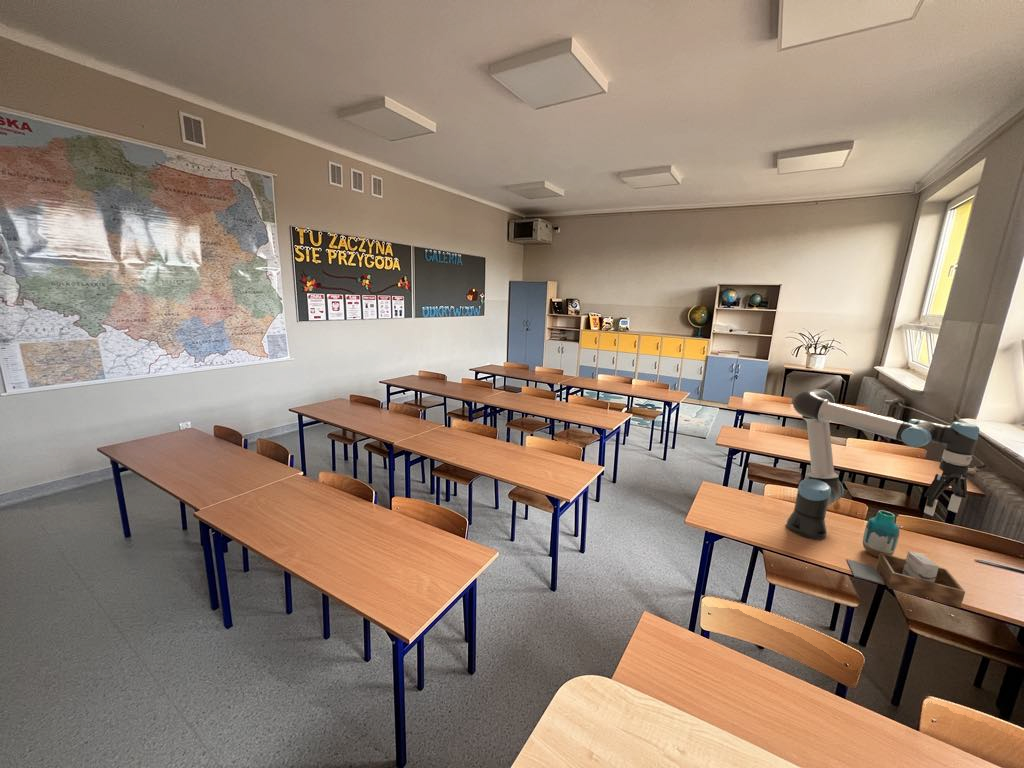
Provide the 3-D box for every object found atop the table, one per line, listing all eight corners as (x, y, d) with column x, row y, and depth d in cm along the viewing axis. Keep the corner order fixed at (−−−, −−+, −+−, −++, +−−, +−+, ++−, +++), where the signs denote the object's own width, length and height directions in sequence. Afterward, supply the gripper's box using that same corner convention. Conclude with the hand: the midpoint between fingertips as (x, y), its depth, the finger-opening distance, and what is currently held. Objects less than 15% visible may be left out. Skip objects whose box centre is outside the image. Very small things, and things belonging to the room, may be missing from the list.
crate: (888, 588, 155) (892, 572, 154) (876, 567, 168) (880, 552, 166) (960, 608, 146) (965, 591, 145) (941, 583, 159) (946, 568, 158)
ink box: (931, 595, 153) (940, 566, 150) (916, 592, 153) (924, 564, 151) (914, 580, 161) (922, 552, 158) (900, 577, 162) (907, 550, 159)
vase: (898, 565, 170) (909, 522, 166) (866, 558, 173) (876, 516, 169) (885, 550, 180) (896, 510, 176) (855, 545, 183) (865, 504, 179)
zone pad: (854, 576, 161) (854, 575, 161) (846, 560, 171) (846, 558, 171) (883, 584, 157) (884, 583, 157) (874, 567, 167) (874, 566, 167)
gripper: (944, 468, 154) (929, 520, 158) (989, 464, 161) (973, 514, 165) (920, 460, 161) (907, 510, 166) (964, 457, 168) (950, 505, 172)
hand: (940, 512), depth 165 cm, fingers open, 13 cm apart
